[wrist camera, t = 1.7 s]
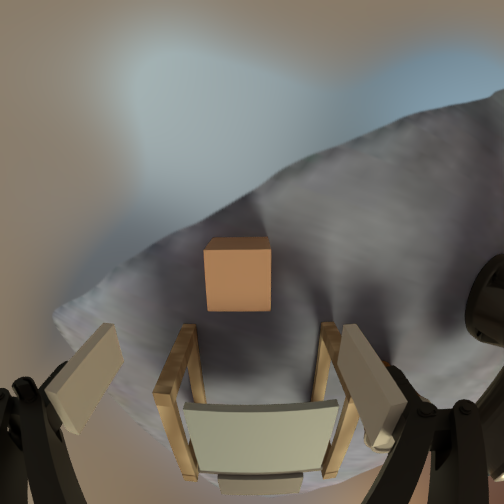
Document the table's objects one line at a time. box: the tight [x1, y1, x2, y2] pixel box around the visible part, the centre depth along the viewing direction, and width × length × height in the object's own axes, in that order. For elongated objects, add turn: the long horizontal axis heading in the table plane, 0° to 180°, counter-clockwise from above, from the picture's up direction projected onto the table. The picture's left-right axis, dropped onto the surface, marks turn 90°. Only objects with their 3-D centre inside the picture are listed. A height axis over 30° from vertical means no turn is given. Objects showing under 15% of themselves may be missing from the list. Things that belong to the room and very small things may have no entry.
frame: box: [152, 322, 360, 482], centre depth 29 cm, size 19×17×13 cm
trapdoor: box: [183, 399, 339, 495], centre depth 24 cm, size 15×18×2 cm
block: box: [204, 237, 271, 311], centre depth 28 cm, size 6×6×6 cm
